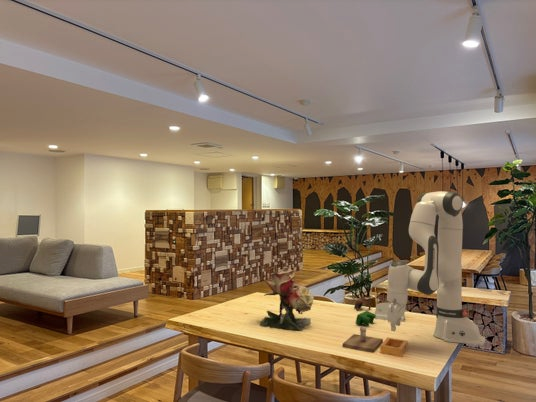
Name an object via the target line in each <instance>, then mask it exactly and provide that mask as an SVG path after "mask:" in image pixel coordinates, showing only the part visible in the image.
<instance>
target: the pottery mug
mask: <svg viewBox="0 0 536 402" xmlns="http://www.w3.org/2000/svg"><path fill="white" fill-rule="evenodd" d="M364 304H365V305H366V306H368V309H367V311H370V310H371V307H372V303H371V302H370V301H369V300H368V299H366V298H365V297H363V296H362V297H360V298H358V299H357V300H356V301H355V304H354V308H353V309H354V310H357V309H358V310H361V309H362V307H363V305H364Z"/></svg>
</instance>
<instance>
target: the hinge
mask: <svg viewBox="0 0 536 402" xmlns="http://www.w3.org/2000/svg"><path fill="white" fill-rule="evenodd" d="M389 305H390V302H380V303H377V304H376V306H375V309H374V314H375V315H376V317H375V318H374V320H384V321H385V320H386V321H387V316H388V307H389ZM405 320H406V315H405V313H404V314H403V316H402V318H401V322H402V323H404V322H405Z"/></svg>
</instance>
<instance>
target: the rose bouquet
mask: <svg viewBox="0 0 536 402" xmlns="http://www.w3.org/2000/svg"><path fill="white" fill-rule="evenodd" d="M295 275H296V273H295V271H294V270H292V268H291V267H287V266H286V267H284V268H282V269H279V270H278V271H277V272H276V271H273V273H271V275H270V278H271V280H267V281H264V283H266V285H268V287H269V288H270V290H271V291H272V293H265V294H263V296H264V297H265V296H276V295H279V301H280V303H279V314H277V313H275V312H272V311H270V310H267V311H266V313H267V315H268V316H265V317H264V318H263V319H261V320H260V321H259V322H260V323H259V326H260V327H262V328H270V329H278V330H279V329H281V330H282V329H285V330H288V331H289V330H290V331H297V330H299V331H303V330H307V329H306V327H307V326H311V322H312V318H310V317H309V318H307V317H303V316H304V315H303V314H304V313H305V312H308V311H311V310H312V307H313V303H314V299H315V295H312V294H311V292H310V290H309V289H308V288H307V286H303V285H301V284H299V283H298V284H297V283H295V281H296V278H295ZM283 310H285V313H283V312H282V311H283ZM294 310H295V311H296V312H297V314H299V315H302V317H303V318H302V317H296V316H295V314H294Z"/></svg>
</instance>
